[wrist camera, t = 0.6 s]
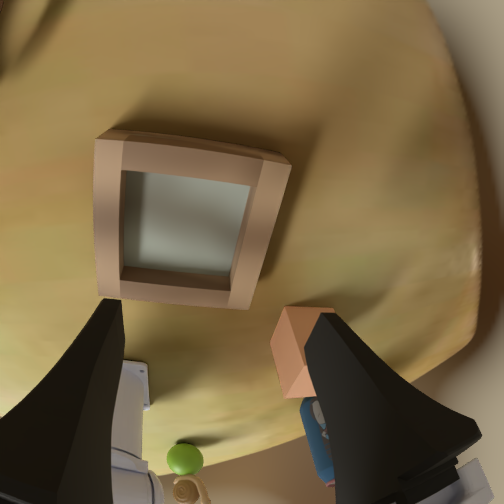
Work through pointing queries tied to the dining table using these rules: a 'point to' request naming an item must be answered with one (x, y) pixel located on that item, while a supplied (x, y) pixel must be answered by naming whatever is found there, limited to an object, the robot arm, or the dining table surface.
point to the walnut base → (183, 217)
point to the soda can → (318, 439)
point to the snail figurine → (187, 474)
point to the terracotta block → (294, 349)
